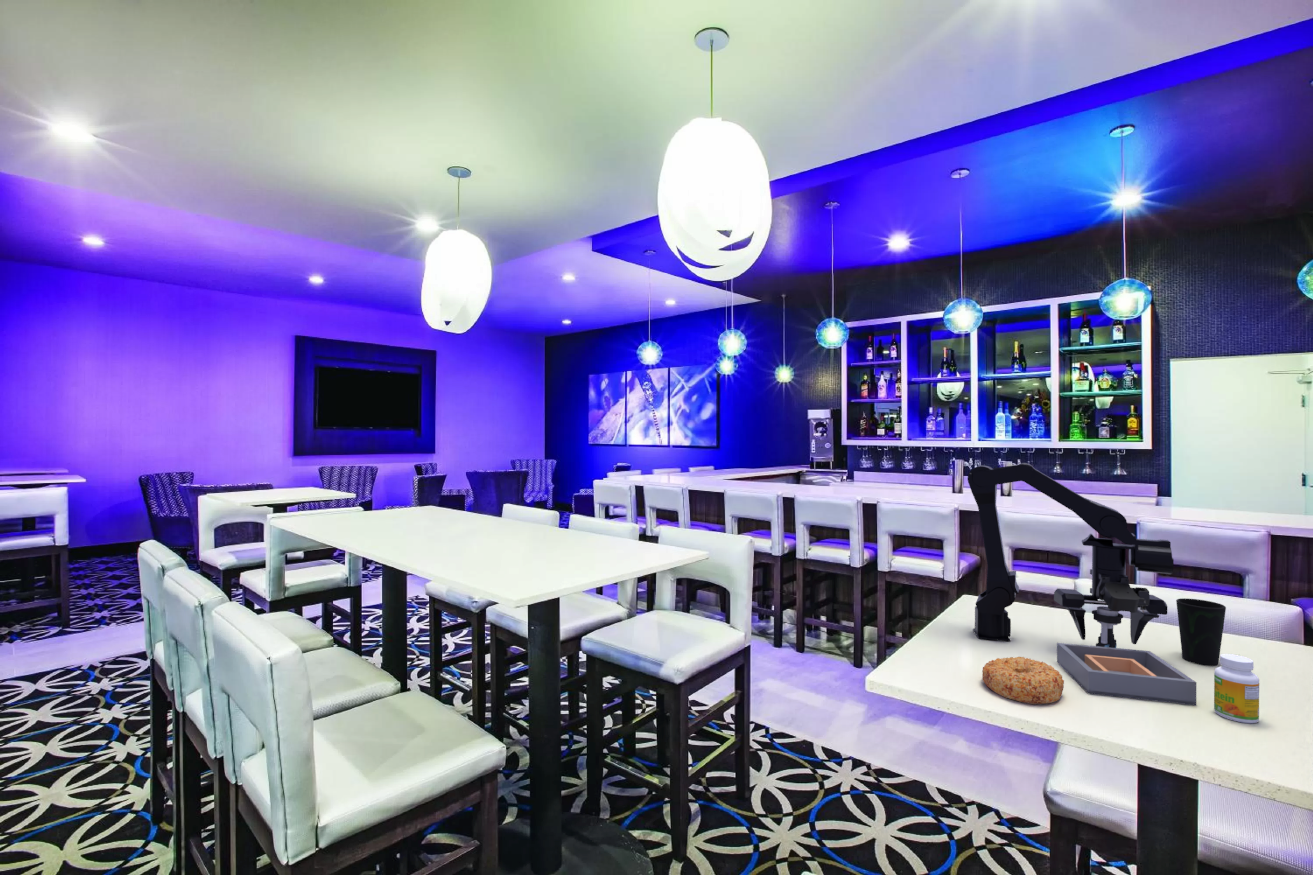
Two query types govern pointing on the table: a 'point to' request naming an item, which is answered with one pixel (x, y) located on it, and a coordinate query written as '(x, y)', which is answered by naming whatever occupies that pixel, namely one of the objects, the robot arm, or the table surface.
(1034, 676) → the bagel
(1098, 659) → the walled box
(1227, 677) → the supplement bottle
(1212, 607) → the cup
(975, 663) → the table surface
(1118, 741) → the table surface
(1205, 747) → the table surface
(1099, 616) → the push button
